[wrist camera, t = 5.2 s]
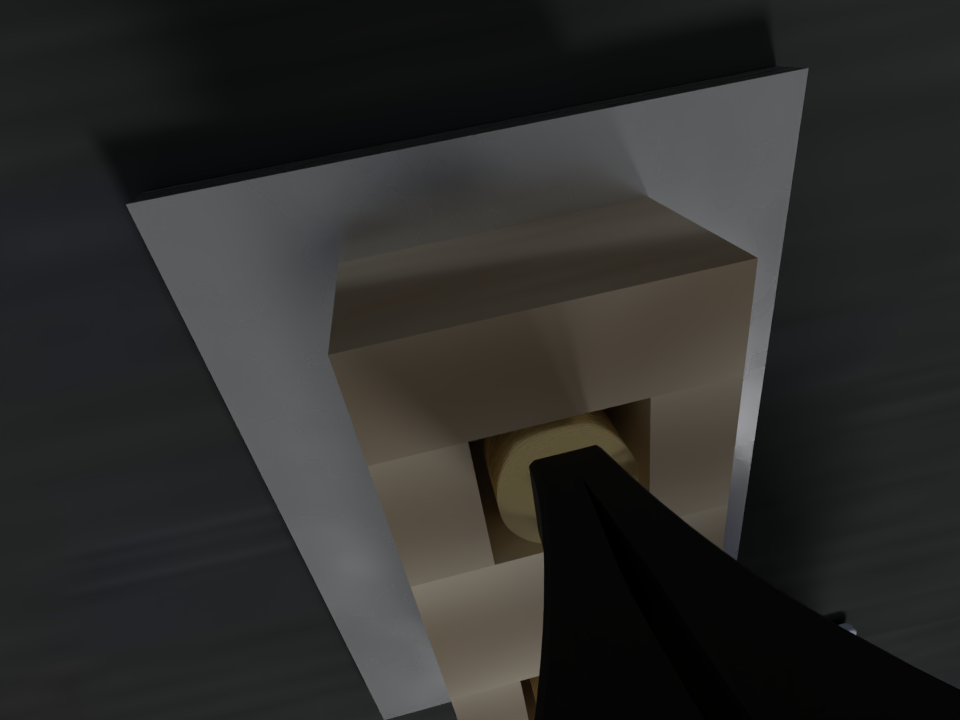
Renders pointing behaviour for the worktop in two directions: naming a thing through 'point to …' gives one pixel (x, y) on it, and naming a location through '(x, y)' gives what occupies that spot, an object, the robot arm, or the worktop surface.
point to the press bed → (424, 220)
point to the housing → (535, 402)
